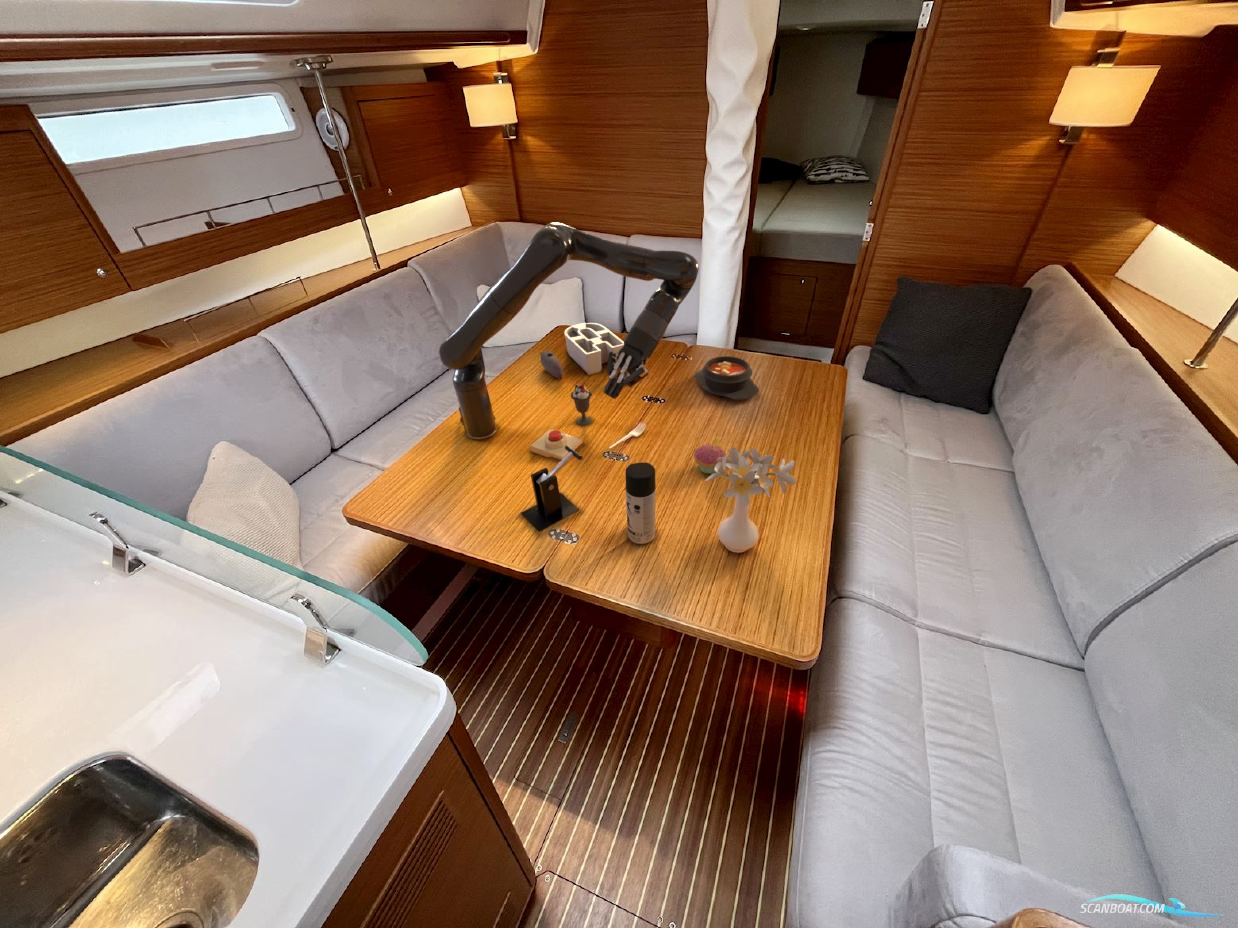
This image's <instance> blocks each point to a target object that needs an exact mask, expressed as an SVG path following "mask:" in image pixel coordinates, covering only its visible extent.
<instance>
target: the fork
mask: <svg viewBox="0 0 1238 928" xmlns="http://www.w3.org/2000/svg"><path fill="white" fill-rule="evenodd" d="M647 426H648V424H647V423H645V422H642V421H640V422H639V424H637V426H635V427H634V428H633V429H632V430H631V431H629V432H628V434H626V435H625V436H623V437H621V438H620V439H619V440H618V441H616V442H615V443H613V444H612V445H611V446H609V447H608V448H609V449H612V448H614V447H615V446H617V445H618V444H620V443H621V442H626V441H627V440H628V439H629V438H631V437H636V438H637V437H639V436H641V435H642V433H643V432H644V431H645V429H646V427H647Z"/></svg>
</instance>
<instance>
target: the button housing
mask: <svg viewBox="0 0 1238 928" xmlns="http://www.w3.org/2000/svg"><path fill="white" fill-rule="evenodd" d="M551 431H554V429H551V428H550V429H549V430H547V431H546V432H545V433H544V434H543V435H541V436H540V437H538V438H537V440H535V441H534V442H533V443H532V444H530V445H529V446H530V447H529V448H530V451H531V452H532V453H535V454H537V455H540V456H543V457H546V458H550V457H553V458H554V459H558V460H560V461H562V460H563V459H564V458H565V457H566V456H567V455H568V454H569V452H568V451H567V450H566V449H565V446H566V445H568V446H570V447H571V448H572V449H573V450H575V451H576V449H578V447H580V445H581V444H583V438H579V437H576V436H573V435H571V434H567V433H565V432H564V431H560V432H561V437H562V439H561V440H559V441H557V442H552V441H550V439H549V433H550V432H551Z"/></svg>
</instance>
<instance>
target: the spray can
mask: <svg viewBox="0 0 1238 928" xmlns="http://www.w3.org/2000/svg"><path fill="white" fill-rule="evenodd" d="M656 485H657V483H656V468H655V467H654V465H652V464H651V463H648V462H646V461H645V462H634V463H630V464H629V465H627V467H626V468H625V497H626V499H625V500H626V501H625V503H626V524H627V526H626V527H627V536H628V539H629V540H630V541H631V542H632V543H634V544H636V545H646V544H649V543H650V542H651V541H653V540H654V539H655V536H656V489H657V487H656Z"/></svg>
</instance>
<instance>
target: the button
mask: <svg viewBox="0 0 1238 928" xmlns="http://www.w3.org/2000/svg"><path fill="white" fill-rule="evenodd" d="M553 430H554V429H553ZM561 432H562V431H560V430H558V429H557V430H554V431H551V432H550V433H549V439H550V441H552V442H557V441H559V440H561V439H562V437H561Z"/></svg>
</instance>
